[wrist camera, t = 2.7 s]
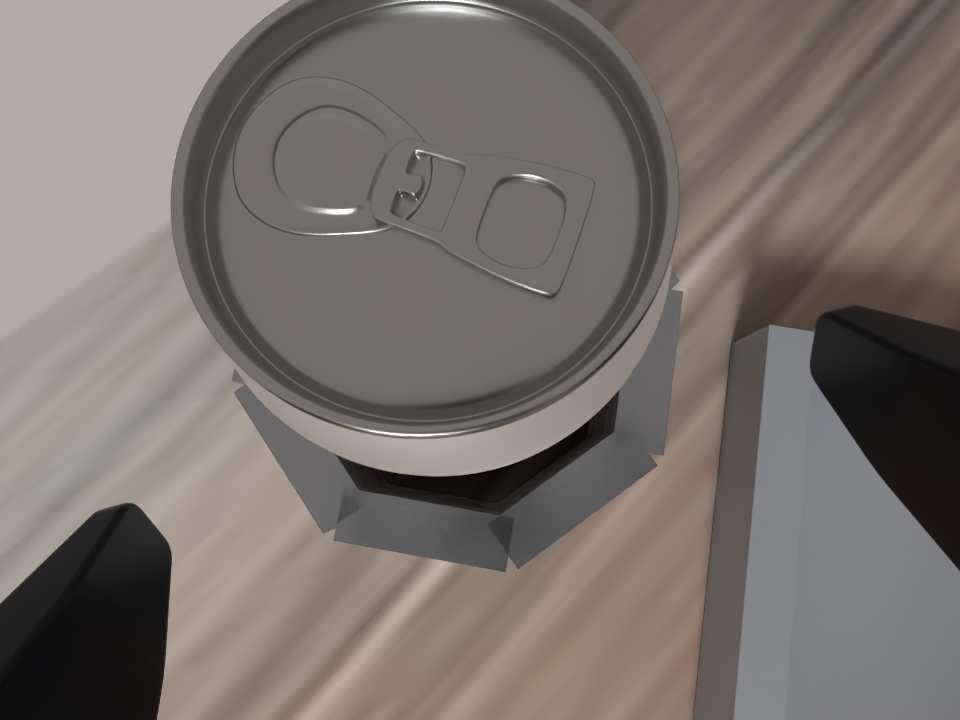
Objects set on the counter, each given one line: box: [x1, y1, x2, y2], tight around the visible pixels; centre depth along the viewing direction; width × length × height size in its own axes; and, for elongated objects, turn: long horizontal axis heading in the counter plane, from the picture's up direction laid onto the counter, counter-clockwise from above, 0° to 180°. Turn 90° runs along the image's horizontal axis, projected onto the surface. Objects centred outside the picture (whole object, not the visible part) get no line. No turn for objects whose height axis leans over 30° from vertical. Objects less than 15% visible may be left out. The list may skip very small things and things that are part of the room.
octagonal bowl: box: [232, 271, 683, 572], centre depth 16 cm, size 10×10×4 cm
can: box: [171, 0, 680, 476], centre depth 12 cm, size 6×6×12 cm
